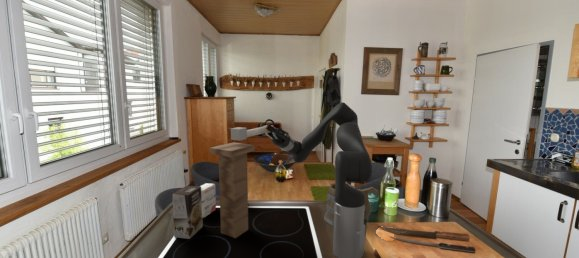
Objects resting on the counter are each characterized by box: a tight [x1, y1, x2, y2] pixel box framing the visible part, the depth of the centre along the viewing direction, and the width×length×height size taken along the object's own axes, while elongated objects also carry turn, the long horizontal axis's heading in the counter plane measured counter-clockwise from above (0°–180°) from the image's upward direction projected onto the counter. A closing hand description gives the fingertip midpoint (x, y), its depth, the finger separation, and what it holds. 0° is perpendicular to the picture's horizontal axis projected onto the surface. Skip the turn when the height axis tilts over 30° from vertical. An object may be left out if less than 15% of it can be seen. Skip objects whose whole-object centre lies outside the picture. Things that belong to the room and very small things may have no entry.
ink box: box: [199, 182, 217, 219], centre depth 112 cm, size 8×5×12 cm, turn 160°
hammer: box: [230, 124, 274, 142], centre depth 104 cm, size 22×4×4 cm, turn 149°
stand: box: [209, 142, 256, 239], centre depth 96 cm, size 10×12×32 cm
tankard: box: [323, 182, 379, 227], centre depth 105 cm, size 20×13×15 cm, turn 73°
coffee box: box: [171, 185, 204, 240], centre depth 97 cm, size 9×6×16 cm
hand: (264, 125), depth 109 cm, fingers closed on hammer, 3 cm apart
